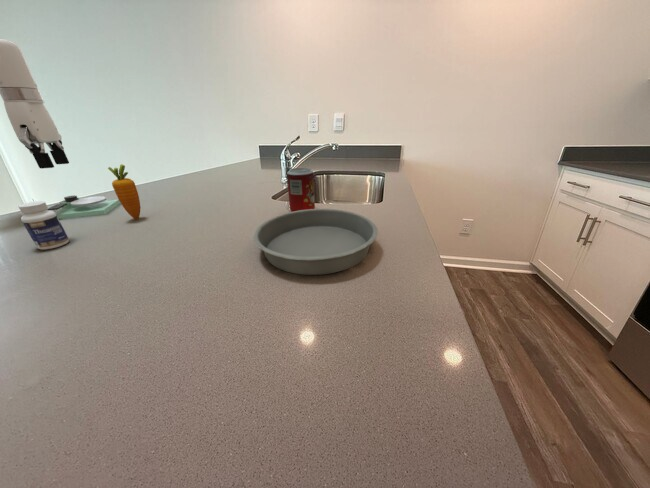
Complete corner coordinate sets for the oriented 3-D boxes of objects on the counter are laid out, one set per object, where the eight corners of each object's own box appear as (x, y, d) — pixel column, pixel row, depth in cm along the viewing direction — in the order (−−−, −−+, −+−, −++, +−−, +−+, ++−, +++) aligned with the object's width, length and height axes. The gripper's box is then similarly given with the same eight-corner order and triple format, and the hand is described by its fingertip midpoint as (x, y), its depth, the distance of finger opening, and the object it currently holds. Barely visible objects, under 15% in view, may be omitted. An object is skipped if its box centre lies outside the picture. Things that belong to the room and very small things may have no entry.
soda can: (313, 217, 70) (310, 171, 64) (287, 217, 71) (283, 172, 65) (316, 209, 76) (314, 166, 71) (293, 209, 77) (289, 167, 71)
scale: (46, 220, 74) (40, 210, 72) (70, 207, 84) (66, 198, 83) (105, 214, 77) (101, 204, 76) (121, 202, 88) (117, 194, 87)
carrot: (122, 221, 71) (99, 165, 64) (139, 215, 75) (120, 162, 68) (134, 223, 69) (112, 166, 63) (151, 217, 73) (132, 163, 67)
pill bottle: (42, 252, 55) (16, 209, 51) (34, 247, 58) (9, 205, 54) (73, 242, 59) (52, 202, 55) (65, 238, 62) (44, 198, 58)
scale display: (47, 210, 72) (46, 209, 72) (57, 205, 76) (57, 204, 76) (57, 209, 73) (57, 208, 73) (67, 204, 77) (67, 203, 77)
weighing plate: (65, 207, 74) (64, 205, 74) (80, 199, 81) (79, 198, 81) (99, 204, 76) (98, 202, 76) (111, 196, 84) (110, 195, 83)
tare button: (64, 203, 80) (61, 198, 79) (69, 200, 82) (67, 196, 81) (75, 202, 80) (73, 197, 80) (80, 199, 83) (78, 195, 82)
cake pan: (264, 228, 64) (261, 211, 62) (361, 222, 66) (362, 205, 64) (246, 286, 42) (241, 262, 40) (393, 275, 44) (395, 252, 42)
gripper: (27, 99, 75) (57, 162, 83) (-25, 94, 60) (18, 172, 68) (58, 98, 77) (85, 160, 85) (16, 94, 62) (52, 169, 70)
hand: (55, 165), depth 76 cm, fingers open, 6 cm apart
